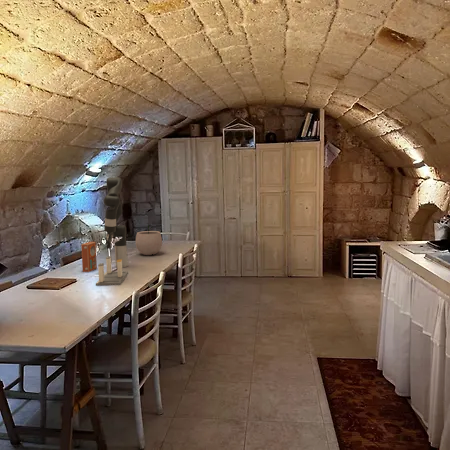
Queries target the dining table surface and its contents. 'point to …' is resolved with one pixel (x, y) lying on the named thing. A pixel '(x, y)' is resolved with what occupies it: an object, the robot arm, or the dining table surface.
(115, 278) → the base
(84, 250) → the orange carton box
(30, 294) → the dining table surface
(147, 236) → the plant pot
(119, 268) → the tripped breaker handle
